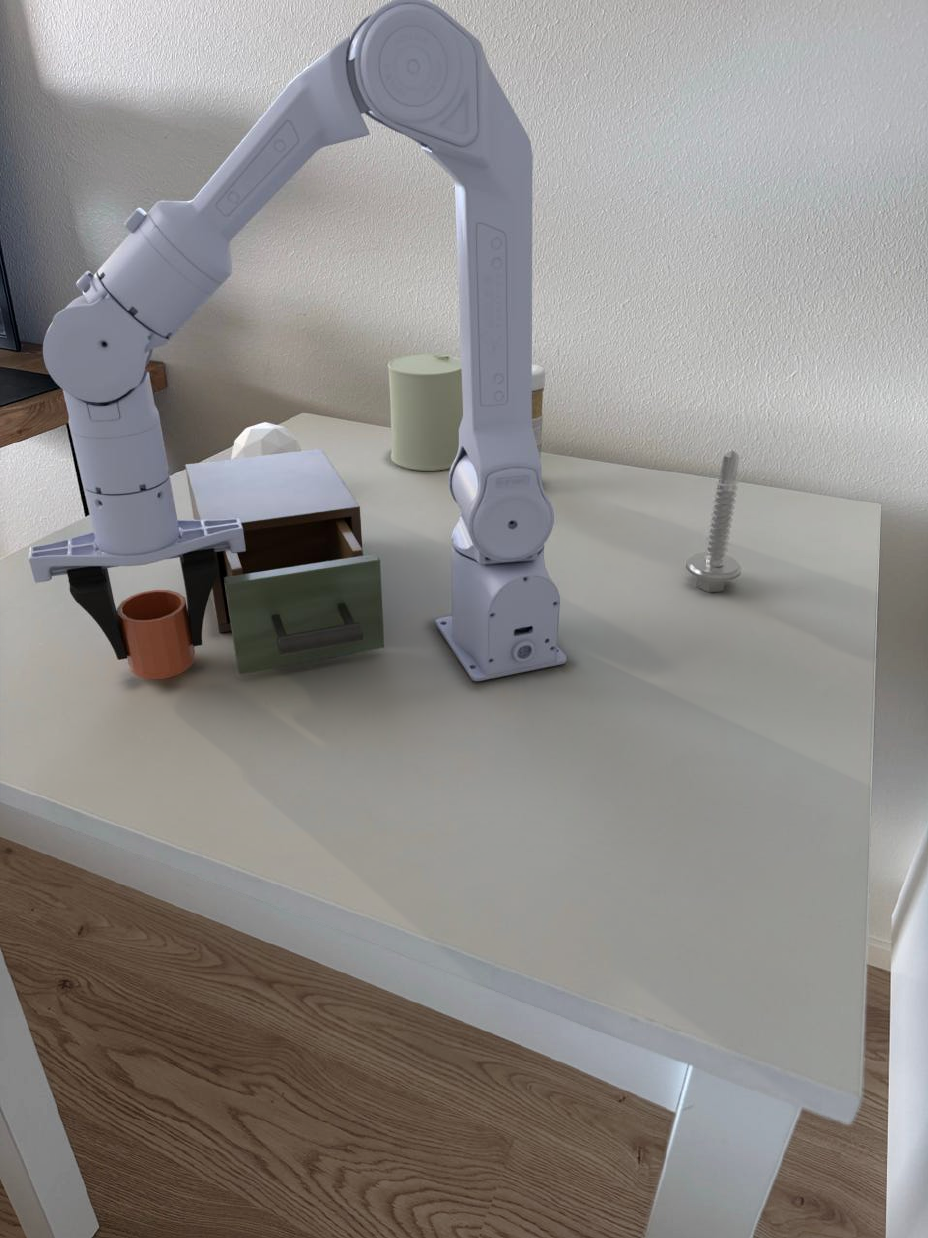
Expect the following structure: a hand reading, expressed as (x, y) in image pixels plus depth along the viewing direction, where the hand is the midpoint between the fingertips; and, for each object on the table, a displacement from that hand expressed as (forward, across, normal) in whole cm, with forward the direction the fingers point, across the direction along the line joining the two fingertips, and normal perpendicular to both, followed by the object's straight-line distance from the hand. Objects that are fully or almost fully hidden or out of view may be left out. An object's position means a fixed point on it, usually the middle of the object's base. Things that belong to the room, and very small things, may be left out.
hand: (160, 645), depth 69 cm
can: (+2, -34, -38) cm, 51 cm away
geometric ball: (+2, -14, -34) cm, 36 cm away
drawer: (+1, -11, 0) cm, 11 cm away
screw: (+3, -48, +2) cm, 48 cm away
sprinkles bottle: (+3, -41, -26) cm, 48 cm away
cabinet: (+2, -11, -12) cm, 16 cm away
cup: (+1, 0, 0) cm, 1 cm away
